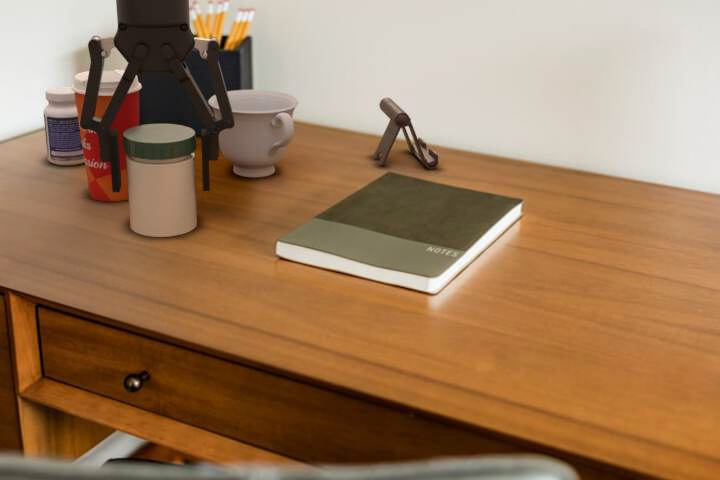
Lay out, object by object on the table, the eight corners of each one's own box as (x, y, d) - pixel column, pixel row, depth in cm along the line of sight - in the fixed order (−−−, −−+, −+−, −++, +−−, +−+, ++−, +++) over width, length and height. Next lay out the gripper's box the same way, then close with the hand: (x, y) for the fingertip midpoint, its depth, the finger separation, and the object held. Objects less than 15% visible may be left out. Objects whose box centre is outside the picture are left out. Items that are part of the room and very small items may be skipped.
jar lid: (108, 149, 100) (107, 133, 100) (163, 135, 106) (162, 119, 106) (157, 164, 96) (156, 147, 95) (211, 149, 102) (210, 132, 101)
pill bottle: (99, 161, 125) (93, 90, 122) (61, 169, 121) (54, 96, 118) (77, 151, 129) (71, 83, 125) (40, 159, 125) (33, 88, 121)
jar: (127, 238, 101) (121, 151, 97) (132, 213, 108) (127, 131, 104) (196, 236, 102) (193, 150, 98) (197, 212, 109) (194, 131, 105)
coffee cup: (79, 185, 116) (69, 69, 110) (144, 180, 118) (137, 67, 113) (81, 207, 109) (71, 84, 103) (151, 202, 111) (144, 82, 105)
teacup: (250, 197, 114) (249, 121, 110) (194, 166, 125) (191, 95, 121) (327, 181, 121) (329, 109, 117) (267, 153, 132) (267, 85, 128)
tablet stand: (438, 169, 128) (442, 112, 124) (384, 171, 126) (387, 113, 123) (420, 151, 135) (424, 96, 132) (369, 153, 134) (372, 97, 131)
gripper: (255, -18, 99) (257, 175, 108) (48, -22, 96) (67, 178, 105) (259, -8, 93) (260, 197, 101) (36, -13, 89) (57, 200, 98)
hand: (162, 187), depth 103 cm, fingers open, 9 cm apart
